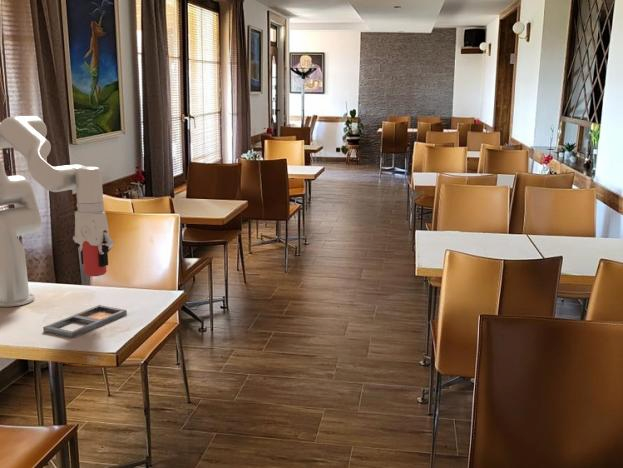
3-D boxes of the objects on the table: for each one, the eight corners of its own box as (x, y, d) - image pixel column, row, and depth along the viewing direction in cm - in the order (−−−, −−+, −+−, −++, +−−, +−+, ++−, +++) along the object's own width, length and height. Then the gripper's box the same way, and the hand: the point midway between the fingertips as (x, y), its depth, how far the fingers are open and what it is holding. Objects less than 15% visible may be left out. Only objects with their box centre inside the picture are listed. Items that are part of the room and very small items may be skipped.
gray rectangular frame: (43, 332, 187) (43, 327, 187) (99, 309, 207) (99, 305, 207) (72, 338, 182) (72, 333, 182) (126, 314, 202) (126, 310, 202)
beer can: (99, 277, 193) (97, 239, 190) (80, 276, 194) (77, 238, 191) (110, 271, 199) (108, 234, 196) (91, 270, 200) (88, 233, 198)
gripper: (60, 207, 192) (65, 264, 196) (103, 212, 185) (107, 270, 189) (79, 203, 199) (83, 258, 203) (121, 208, 191) (125, 265, 195)
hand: (94, 264), depth 196 cm, fingers closed on beer can, 6 cm apart
